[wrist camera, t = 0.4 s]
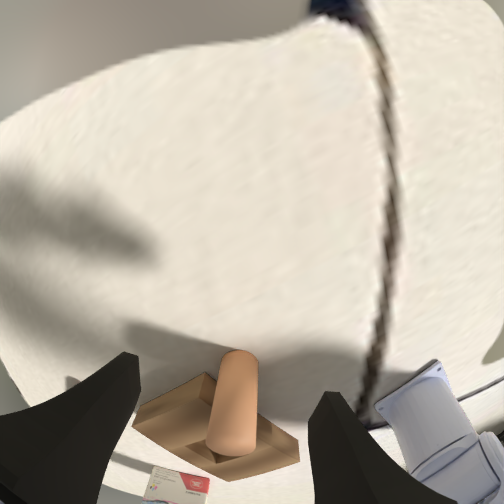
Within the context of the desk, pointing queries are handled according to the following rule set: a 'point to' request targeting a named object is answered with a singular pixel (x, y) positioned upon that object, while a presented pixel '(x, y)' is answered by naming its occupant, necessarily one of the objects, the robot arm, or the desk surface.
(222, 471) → the hole block
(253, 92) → the desk surface
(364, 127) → the desk surface
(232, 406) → the peg
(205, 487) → the ink cartridge box
